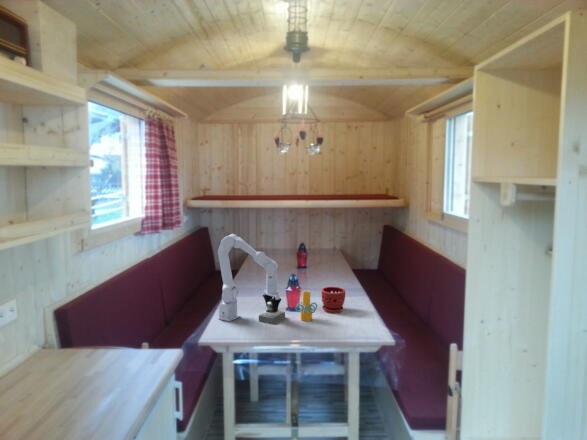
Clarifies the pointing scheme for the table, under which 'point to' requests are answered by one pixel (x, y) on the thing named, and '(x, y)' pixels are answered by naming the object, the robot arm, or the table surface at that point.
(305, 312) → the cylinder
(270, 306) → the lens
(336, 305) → the plant pot
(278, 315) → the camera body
